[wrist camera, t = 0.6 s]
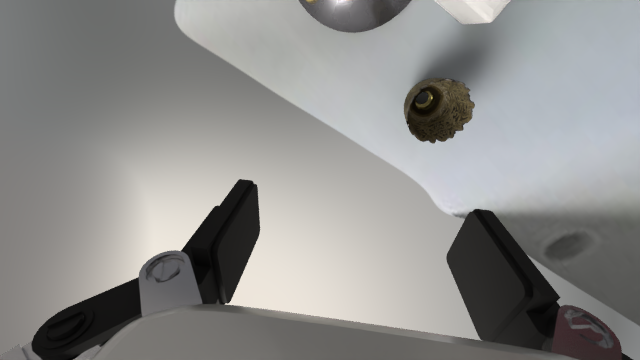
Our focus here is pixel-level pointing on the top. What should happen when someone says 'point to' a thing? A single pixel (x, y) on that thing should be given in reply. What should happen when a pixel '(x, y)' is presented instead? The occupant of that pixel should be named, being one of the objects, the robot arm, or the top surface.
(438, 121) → the cup
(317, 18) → the post base
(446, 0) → the medicine bottle
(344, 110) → the top surface
